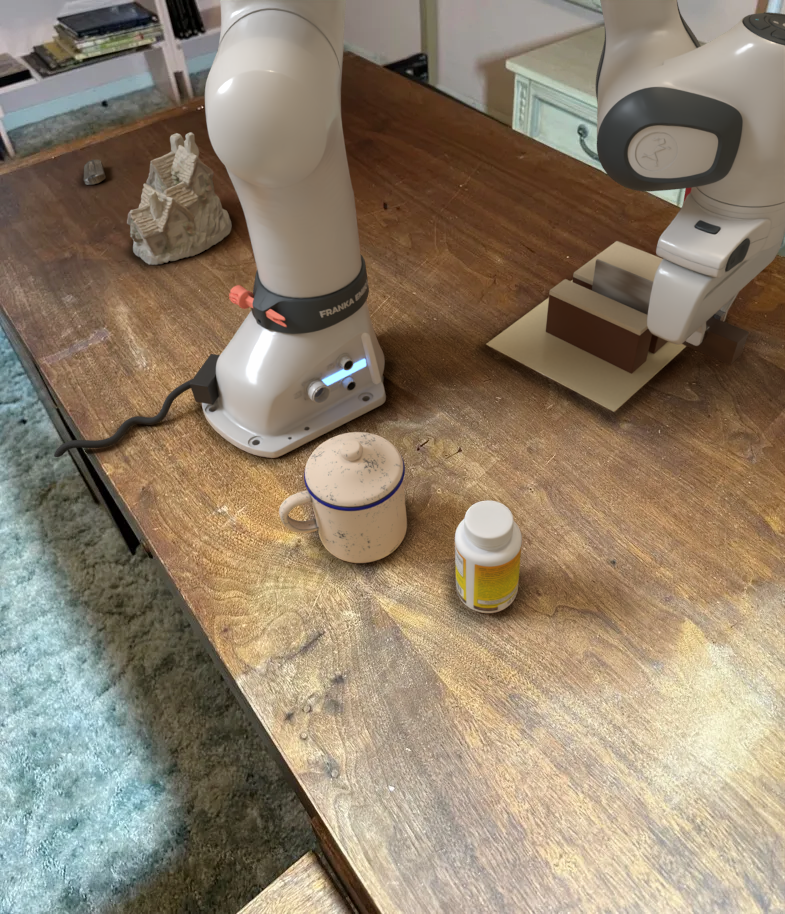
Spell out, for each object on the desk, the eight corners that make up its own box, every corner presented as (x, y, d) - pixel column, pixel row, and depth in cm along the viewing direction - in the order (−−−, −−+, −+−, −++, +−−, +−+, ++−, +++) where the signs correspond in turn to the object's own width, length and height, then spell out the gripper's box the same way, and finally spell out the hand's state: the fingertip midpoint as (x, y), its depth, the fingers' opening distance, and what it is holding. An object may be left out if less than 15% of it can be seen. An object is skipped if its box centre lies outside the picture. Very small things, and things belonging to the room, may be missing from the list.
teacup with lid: (392, 483, 79) (384, 399, 70) (422, 550, 72) (417, 467, 64) (279, 516, 77) (256, 434, 68) (300, 588, 70) (278, 508, 62)
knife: (741, 354, 80) (754, 315, 77) (730, 365, 79) (742, 327, 76) (597, 292, 90) (602, 254, 86) (585, 301, 89) (590, 264, 85)
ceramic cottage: (204, 193, 124) (175, 101, 112) (248, 238, 114) (221, 143, 103) (114, 230, 120) (74, 139, 108) (152, 281, 110) (112, 187, 99)
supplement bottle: (530, 586, 69) (538, 515, 62) (491, 627, 66) (495, 558, 59) (481, 553, 72) (483, 482, 64) (442, 592, 69) (440, 521, 62)
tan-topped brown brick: (631, 374, 86) (640, 331, 82) (545, 331, 92) (549, 290, 88) (646, 361, 87) (656, 318, 83) (560, 320, 94) (565, 278, 89)
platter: (613, 418, 83) (614, 411, 82) (485, 350, 92) (485, 344, 92) (720, 319, 93) (722, 312, 93) (596, 267, 103) (597, 261, 102)
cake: (653, 354, 88) (663, 311, 84) (568, 314, 94) (573, 272, 90) (694, 318, 92) (706, 275, 88) (609, 282, 98) (616, 240, 94)
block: (104, 167, 133) (100, 157, 132) (107, 182, 129) (103, 172, 128) (83, 172, 133) (79, 161, 131) (85, 187, 129) (81, 176, 127)
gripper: (758, 160, 77) (725, 277, 87) (647, 247, 68) (624, 366, 78) (821, 178, 74) (779, 297, 84) (712, 272, 65) (680, 393, 75)
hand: (703, 332), depth 81 cm, fingers closed on knife, 2 cm apart
